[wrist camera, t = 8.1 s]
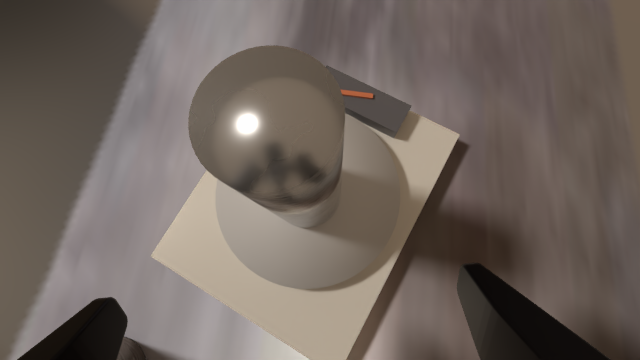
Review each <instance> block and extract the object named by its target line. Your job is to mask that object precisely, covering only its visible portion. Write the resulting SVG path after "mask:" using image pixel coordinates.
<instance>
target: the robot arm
mask: <svg viewBox="0 0 640 360" xmlns="http://www.w3.org/2000/svg"><path fill="white" fill-rule="evenodd" d="M457 292H458V296H459V299H460V302H461V305H462V308H463V311H464V314H465V317H466V320H467V323H468V326H469V329H470V331H471V334H472V337H473V340H474V343H475V346H476V349H477V352H478V355H479V357H480V359H481V360H611V359H609V358H608V357H606V356H605V355H604V354H602V353H601V352H600V351H598V350H597V349H596V348H594V347H593V346H591V345H590V344H589V343H587V342H586V341H585V340H583V339H582V338H581V337H579V336H578V335H577V334H575V333H574V332H572V331H571V330H570V329H568V328H567V327H566V326H564V325H563V324H562V323H560V322H559V321H557V320H556V319H555V318H553V317H552V316H551V315H549V314H548V313H547V312H545V311H544V310H542V309H541V308H540V307H538V306H537V305H536V304H534V303H533V302H532V301H530V300H529V299H528V298H526V297H525V296H523V295H522V294H521V293H519V292H518V291H517V290H515V289H514V288H513V287H511V286H510V285H508V284H507V283H506V282H504V281H503V280H502V279H500V278H499V277H498V276H496V275H495V274H493V273H492V272H491V271H489V270H488V269H487V268H485V267H484V266H483V265H481V264H479V263H467V264H462V265H461V267H460V271H459V277H458V283H457ZM127 322H128V321H127V316H126V314H125V313H124V311H123V310H122V308H121V307H120V305H119V304H118V302H117V301H116V299H114V298H112V297H108V298H98V299H95V300H94V301H92V302H91V303H90V304H88V305H87V306H86V307H84V308H83V309H82V310H81V311H79V312H78V313H77V314H75V315H74V316H73V317H71V318H70V319H69V320H68V321H66V322H65V323H64V324H62V325H61V326H60V327H59V328H57V329H56V330H55V331H53V332H52V333H51V334H50V335H48V336H47V337H46V338H44V339H43V340H42V341H41V342H39V343H38V344H37V345H35V346H34V347H33V348H32V349H30V350H29V351H28V352H26V353H25V354H24V355H23V356H21V357H20V358H19V359H17V360H117V357H118V354H119V351H120V347H121V344H122V341H123V338H124V334H125V331H126V328H127Z"/></svg>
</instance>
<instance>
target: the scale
mask: <svg viewBox="0 0 640 360" xmlns="http://www.w3.org/2000/svg"><path fill="white" fill-rule="evenodd" d="M326 68H327V69H328V70H329V71H330V73H331V74H332V75H333V76H334V78H335V80H336V82H337V83H338V85H339V88H340V90H341V92H342V96H343V100H344V105H345V129H344V146H343V163H342V179H341V196H340V202H339V206H338V208H337V210H336V212H335V213H334V214H333V216H332V217H331V218H330V219H329V220H328V221H326V222H325V223H323V224H321V225H319V226H316V227H311V228H301V227H297V226H294V225H292V224H290V223H288V222H286V221H285V220H283V219H282V218H280V217H278V216H277V215H275V214H273V213H272V212H270V211H268V210H267V209H265V208H264V207H262V206H260V205H259V204H257V203H255V202H254V201H252V200H250V199H249V198H247V197H246V196H244V195H242V194H241V193H239V192H237V191H236V190H234V189H233V188H231V187H229V186H228V185H226V184H224V183H223V182H221V181H220V180H218V179H217V178H215V177H214V176H213V175H212V174H211V173H210V172H208V171H207V170H206V172H205V174H204V175H203V177H202V178H201V180H200V181H199V183H198V184H197V186H196V187H195V189H194V190H193V192H192V193H191V195H190V196H189V198H188V200H187V201H186V203H185V204H184V206H183V207H182V209H181V210H180V212H179V213H178V215H177V216H176V218H175V219H174V221H173V223H172V224H171V226H170V227H169V229H168V230H167V232H166V233H165V235H164V236H163V238H162V239H161V241H160V242H159V244H158V246H157V247H156V249H155V250H154V252H153V253H152V255H151V257H153V258H154V259H156V260H157V261H159V262H160V263H162V264H163V265H165V266H167V267H168V268H170V269H171V270H173V271H174V272H176V273H177V274H179V275H180V276H182V277H184V278H185V279H187V280H188V281H190V282H191V283H193V284H194V285H196V286H197V287H199V288H201V289H202V290H204V291H205V292H207V293H208V294H210V295H211V296H213V297H214V298H216V299H218V300H219V301H221V302H222V303H224V304H225V305H227V306H228V307H230V308H231V309H233V310H235V311H236V312H238V313H239V314H241V315H242V316H244V317H245V318H247V319H248V320H250V321H252V322H253V323H255V324H256V325H258V326H259V327H261V328H262V329H264V330H265V331H267V332H269V333H270V334H272V335H273V336H275V337H276V338H278V339H279V340H281V341H282V342H284V343H286V344H287V345H289V346H290V347H292V348H293V349H295V350H296V351H298V352H299V353H301V354H303V355H304V356H306V357H307V358H309V359H310V360H346V359H347V357H348V355H349V353H350V351H351V349H352V347H353V345H354V343H355V341H356V339H357V337H358V335H359V333H360V331H361V329H362V327H363V325H364V323H365V321H366V319H367V317H368V315H369V313H370V311H371V309H372V307H373V305H374V303H375V301H376V299H377V297H378V295H379V293H380V291H381V289H382V288H383V286H384V284H385V282H386V280H387V278H388V276H389V274H390V272H391V270H392V268H393V266H394V264H395V262H396V260H397V258H398V256H399V254H400V252H401V250H402V248H403V246H404V244H405V242H406V240H407V238H408V236H409V234H410V232H411V230H412V228H413V226H414V224H415V222H416V220H417V218H418V216H419V214H420V212H421V210H422V208H423V206H424V204H425V202H426V200H427V198H428V196H429V194H430V192H431V191H432V189H433V187H434V185H435V183H436V181H437V179H438V177H439V175H440V173H441V171H442V169H443V167H444V165H445V163H446V161H447V159H448V157H449V155H450V153H451V151H452V149H453V147H454V145H455V143H456V141H457V139H458V137H459V135H460V134H457V133H455V132H453V131H451V130H449V129H447V128H445V127H443V126H441V125H439V124H437V123H435V122H433V121H430V120H428V119H426V118H424V117H422V116H420V115H418V114H416V113H414V112H412V111H410V108H411V105H409V104H406V103H404V102H402V101H400V100H398V99H396V98H394V97H392V96H390V95H388V94H386V93H383V92H381V91H379V90H377V89H375V88H373V87H371V86H369V85H367V84H365V83H362V82H360V81H358V80H356V79H354V78H352V77H350V76H348V75H346V74H344V73H342V72H339V71H337V70H335V69H333V68H331V67H329V66H326Z"/></svg>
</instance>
